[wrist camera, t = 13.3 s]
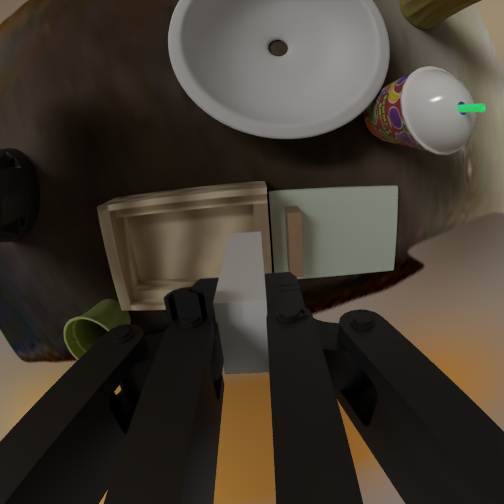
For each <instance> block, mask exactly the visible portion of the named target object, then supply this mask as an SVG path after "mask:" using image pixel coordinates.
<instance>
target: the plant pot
mask: <svg viewBox="0 0 504 504" xmlns="http://www.w3.org/2000/svg"><path fill="white" fill-rule="evenodd" d="M130 323H131V318H130V314H129V312H128V311H122V310H121V307H120V303H119V302H118V301H116V300H113V299H105V300H102V301H101V302H99V303H98V304H97V305H95V306H94V307H93V308H92V309H90V310H89V311H88V312H86V313H85V314H84V315H81V316H78V317H75V318H72V319H71V320H69V321H68V322H67V324H66V325H65V328H64V339H65V343H66V345H67V347H68V349H69V351H70V352H71V353H72V355H73V356H74V357H75V358H76V359H77V360H79V359H80V358H81V357H82V356H83V355H84V354H85V353H86V352H87V351H88V350H89V349H90V348H91V347H92V346H93V345H94V344H95V343H96V342H97V341H98V340H99V339H100V338H101V337H102V336H103V335H104V334H105V333H106V332H108V331H109V330H110V329H112V328H114V327H117V326H119V325H123V324H130Z"/></svg>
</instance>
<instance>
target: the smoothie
mask: <svg viewBox="0 0 504 504" xmlns="http://www.w3.org/2000/svg"><path fill="white" fill-rule="evenodd" d="M485 111H486V107H485V105H484V104H482V103H480V104H475V102H474V98H473V97H472V95H471V93H470V91H469V90H468V88H467V87H466V86H465V85H464V84H463V83H462V82H461V81H460V80H459V79H457V78H456V77H454V76H453V75H452V74H450V73H449V72H447V71H445V70H443V69H442V68H438V67H433V66H427V67H422V68H418V69H417V70H416V71H414V72H412V73H410V74H408V75H406V76H404V77H402V78H400V79H398V80H396V81H394V82H392V83H390V84H389V85H387V86H385V87H383V88H381V89H380V91H379V93H378V94H377V96H376V97H375V99H374V100H373V101H372V103H371V104H370V105H369V106H368V107H367V108H366V109H365V110H364V111H363V113H364V120H365V123H366V125H367V128H368V129H369V130H370V131H371V133H372V134H373V135H374V136H376V137H377V138H378V139H380V140H383V141H386V142H391V143H396V144H400V145H404V146H409V147H413V148H417V149H421V150H425V151H429V152H433V153H435V154H438V155H449V154H452V153H455V152H458V151H459V150H460V149H461V148H462V147H463V146H464V145H465V144H466V142H467V141H468V140H469V139H470V138H471V136H472V134H473V132H474V130H475V128H476V123H477V112H485Z"/></svg>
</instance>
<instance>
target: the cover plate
mask: <svg viewBox="0 0 504 504" xmlns="http://www.w3.org/2000/svg"><path fill="white" fill-rule="evenodd" d="M269 203H270V217H271V231H272V246H273V261H274V273H280V272H291V273H292V274H293V275H295V276H296V277H297V279H306V278H318V277H329V276H340V275H351V274H361V273H371V272H381V271H391V270H394V261H395V249H396V234H397V213H398V186H355V187H329V188H309V189H292V190H277V191H269Z"/></svg>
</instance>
